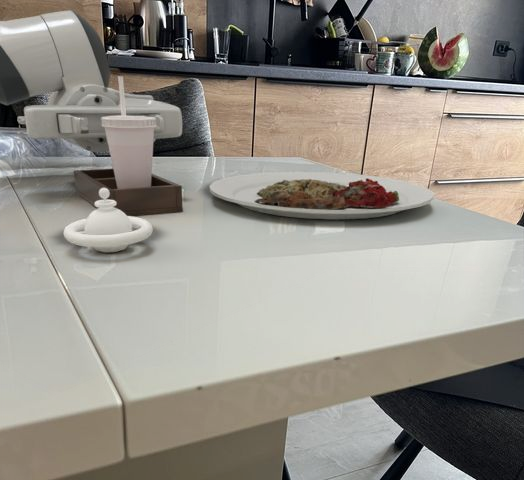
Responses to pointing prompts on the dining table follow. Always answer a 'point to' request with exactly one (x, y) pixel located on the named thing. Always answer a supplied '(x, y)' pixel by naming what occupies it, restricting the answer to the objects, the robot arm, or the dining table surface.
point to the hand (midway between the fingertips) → (121, 125)
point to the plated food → (321, 194)
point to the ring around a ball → (107, 227)
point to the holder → (130, 193)
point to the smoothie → (130, 145)
